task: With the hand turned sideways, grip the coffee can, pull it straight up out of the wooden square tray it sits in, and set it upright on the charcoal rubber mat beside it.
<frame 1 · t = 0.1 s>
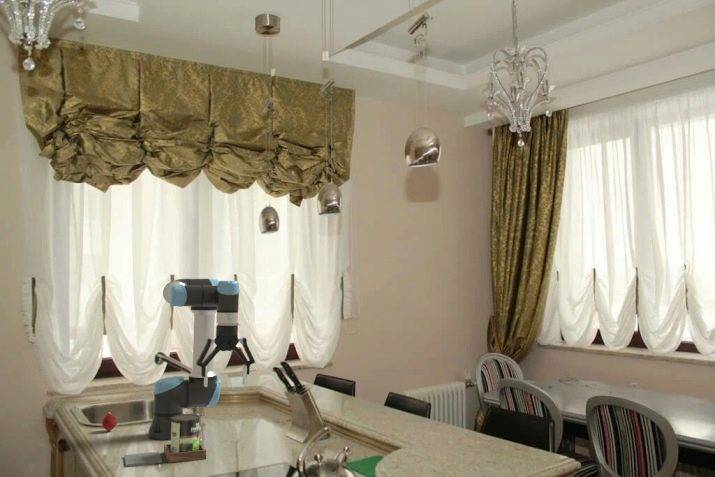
hand: (225, 385, 214), 28 cm above the worktop, tool pointing down, fingers open, 13 cm apart
onion: (109, 431, 257), on the worktop
wooden square tray: (184, 455, 223), on the worktop
coffee can: (184, 456, 223), resting in wooden square tray
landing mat: (143, 460, 218), on the worktop
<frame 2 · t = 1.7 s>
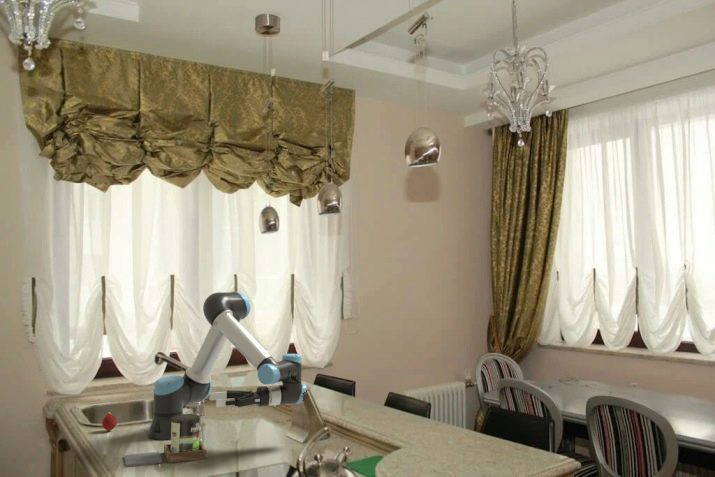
hand: (212, 400, 228), 20 cm above the worktop, tool horizontal, fingers open, 13 cm apart
nothing on the worktop moved.
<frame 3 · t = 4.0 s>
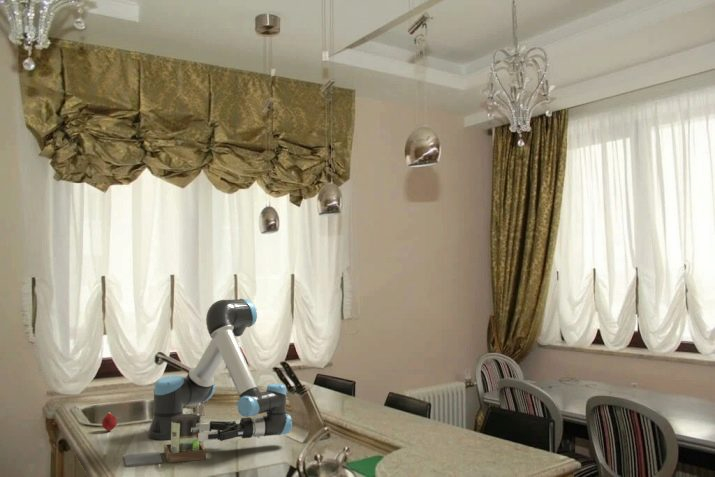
hand: (195, 432, 225), 8 cm above the worktop, tool horizontal, fingers open, 13 cm apart
nothing on the worktop moved.
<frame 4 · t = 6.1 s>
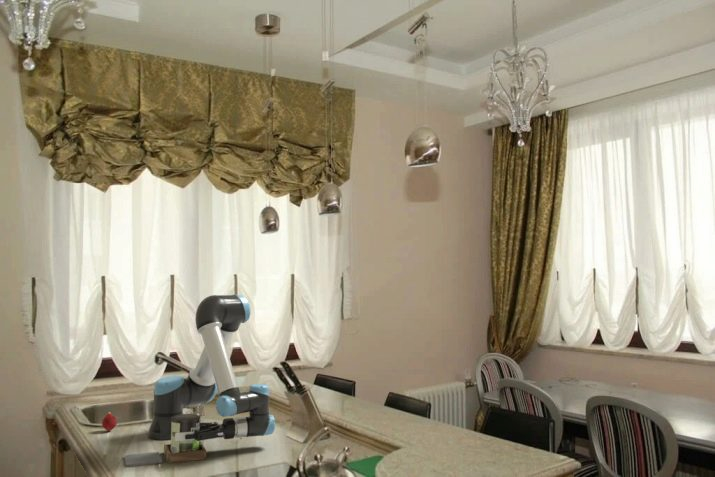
hand: (173, 433, 222), 8 cm above the worktop, tool horizontal, fingers closed on coffee can, 10 cm apart
coffee can: (184, 456, 223), resting in wooden square tray, touching gripper
everything else where it was.
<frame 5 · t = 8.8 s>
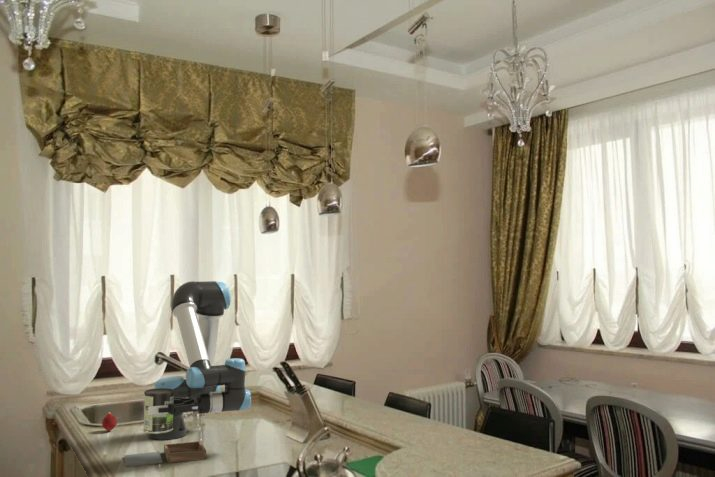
hand: (146, 407, 218), 19 cm above the worktop, tool horizontal, fingers closed on coffee can, 10 cm apart
coffee can: (158, 430, 219), point 10 cm above the worktop, touching gripper
everything else where it was.
when the fingers open (11 cm above the worktop, at t = 11.7 s): coffee can drops 1 cm, resting on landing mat.
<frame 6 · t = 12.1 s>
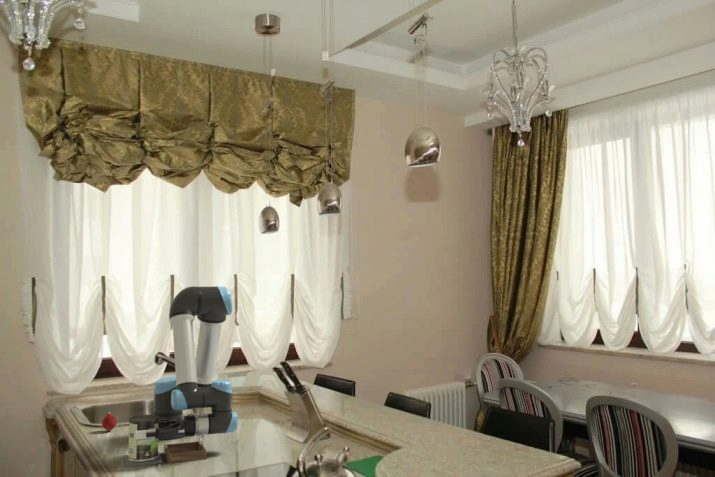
hand: (134, 430, 217), 11 cm above the worktop, tool horizontal, fingers open, 13 cm apart
coffee can: (143, 458, 218), point 1 cm above the worktop, touching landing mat
everything else where it was.
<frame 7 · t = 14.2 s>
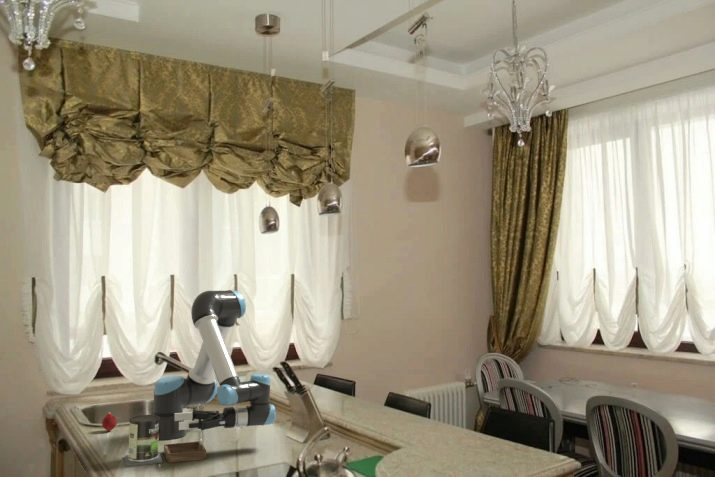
hand: (176, 421, 223), 13 cm above the worktop, tool horizontal, fingers open, 13 cm apart
nothing on the worktop moved.
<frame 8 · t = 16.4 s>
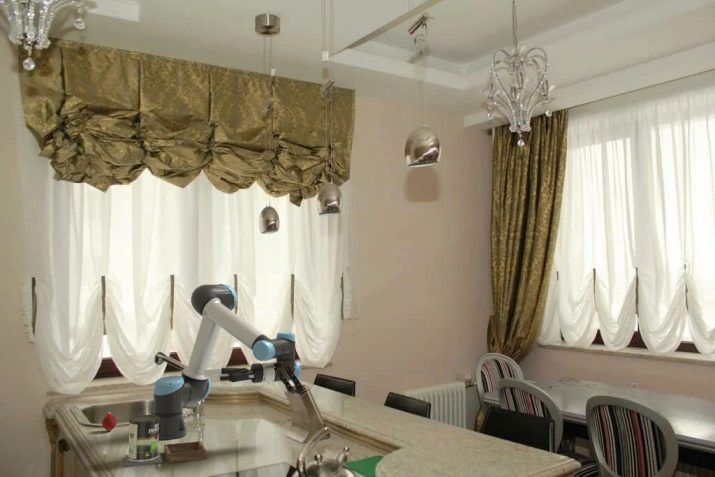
hand: (207, 375, 232), 28 cm above the worktop, tool horizontal, fingers open, 13 cm apart
nothing on the worktop moved.
at the end: coffee can inside the target area on the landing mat (0.1 cm from its centre), point 0.6 cm above the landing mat's base; coffee can tilted 0°; the gripper is holding nothing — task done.
